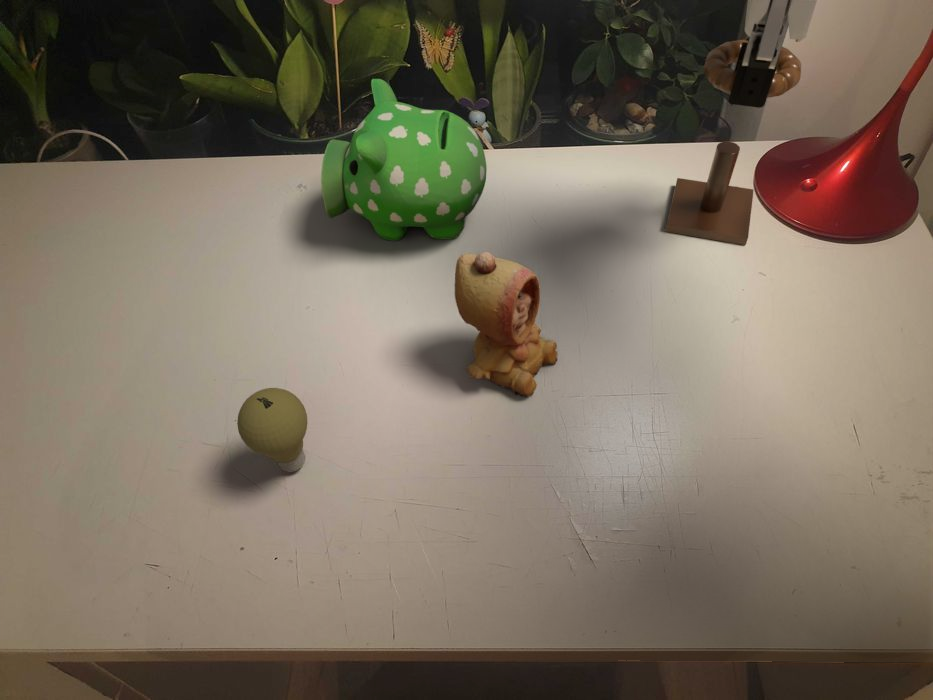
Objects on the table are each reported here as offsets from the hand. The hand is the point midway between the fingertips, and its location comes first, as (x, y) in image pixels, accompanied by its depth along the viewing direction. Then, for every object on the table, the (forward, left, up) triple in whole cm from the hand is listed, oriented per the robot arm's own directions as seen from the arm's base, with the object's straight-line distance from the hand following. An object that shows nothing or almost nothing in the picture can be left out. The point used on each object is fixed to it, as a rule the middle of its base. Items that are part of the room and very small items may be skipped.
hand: (747, 93), depth 63 cm
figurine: (+17, +24, -18) cm, 35 cm away
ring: (0, -3, +1) cm, 3 cm away
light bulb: (+32, +41, -18) cm, 55 cm away
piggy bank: (+34, +6, -18) cm, 39 cm away
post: (0, -4, -18) cm, 18 cm away
